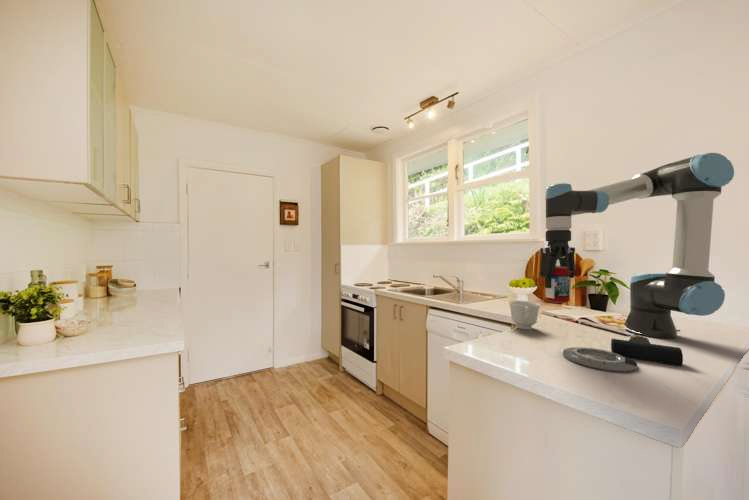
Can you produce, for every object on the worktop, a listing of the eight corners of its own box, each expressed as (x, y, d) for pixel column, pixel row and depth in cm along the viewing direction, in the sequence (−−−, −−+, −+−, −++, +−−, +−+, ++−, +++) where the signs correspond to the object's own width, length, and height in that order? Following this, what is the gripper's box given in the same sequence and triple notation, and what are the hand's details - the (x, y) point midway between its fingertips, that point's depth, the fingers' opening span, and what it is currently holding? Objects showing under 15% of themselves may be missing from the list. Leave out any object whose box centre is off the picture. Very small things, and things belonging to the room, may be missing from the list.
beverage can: (554, 303, 99) (554, 267, 99) (542, 299, 106) (542, 265, 106) (574, 303, 100) (574, 267, 100) (560, 299, 106) (561, 266, 106)
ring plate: (587, 348, 98) (587, 342, 98) (651, 367, 82) (651, 361, 82) (549, 354, 91) (550, 348, 91) (611, 376, 76) (611, 369, 76)
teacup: (510, 331, 116) (510, 305, 116) (506, 323, 130) (506, 299, 130) (545, 335, 112) (545, 308, 112) (537, 325, 126) (537, 301, 126)
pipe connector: (608, 331, 100) (670, 338, 92) (608, 346, 100) (670, 356, 92) (613, 340, 90) (683, 350, 82) (613, 358, 90) (682, 369, 82)
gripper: (567, 231, 110) (567, 294, 110) (527, 229, 103) (527, 297, 103) (588, 230, 103) (588, 297, 103) (547, 228, 96) (546, 300, 96)
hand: (557, 297), depth 103 cm, fingers closed on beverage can, 7 cm apart
